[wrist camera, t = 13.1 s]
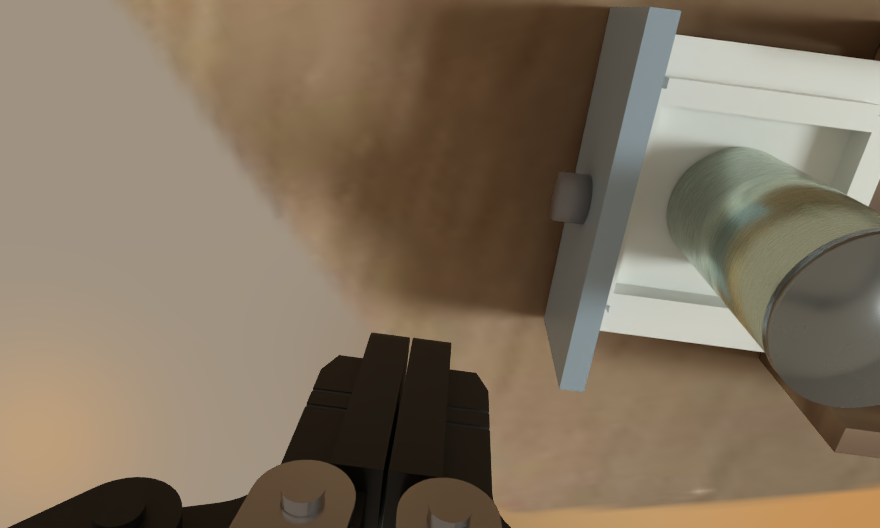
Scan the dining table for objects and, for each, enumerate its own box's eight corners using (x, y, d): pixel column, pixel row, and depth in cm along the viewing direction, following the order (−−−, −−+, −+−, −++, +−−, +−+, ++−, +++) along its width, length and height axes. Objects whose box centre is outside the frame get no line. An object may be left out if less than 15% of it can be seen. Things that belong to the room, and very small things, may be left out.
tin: (683, 137, 24) (810, 222, 15) (816, 152, 24) (1022, 246, 15) (650, 259, 27) (744, 396, 18) (772, 273, 27) (929, 417, 18)
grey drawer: (581, 2, 24) (611, 1, 19) (900, 44, 24) (1024, 55, 19) (520, 315, 30) (530, 385, 25) (779, 350, 30) (847, 427, 25)
